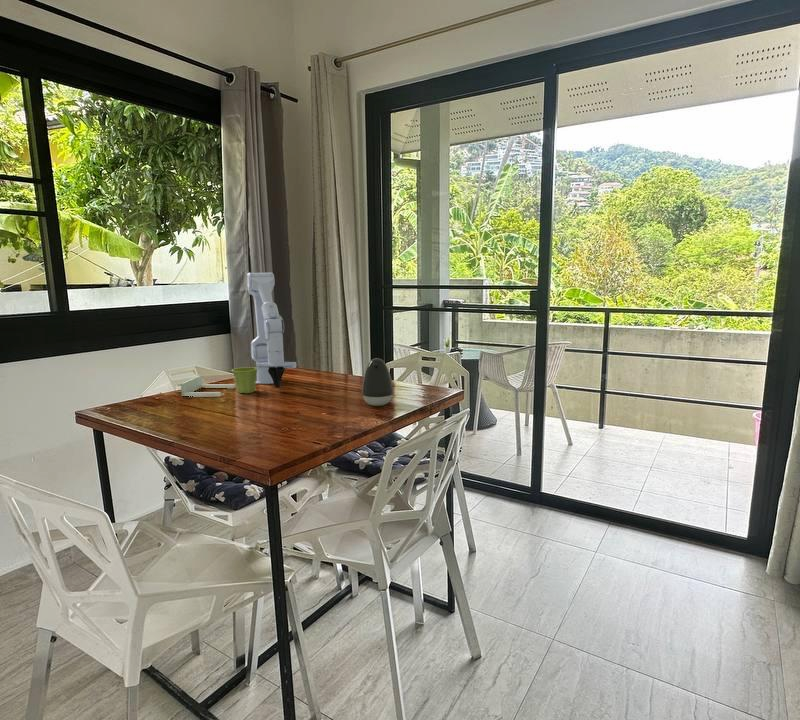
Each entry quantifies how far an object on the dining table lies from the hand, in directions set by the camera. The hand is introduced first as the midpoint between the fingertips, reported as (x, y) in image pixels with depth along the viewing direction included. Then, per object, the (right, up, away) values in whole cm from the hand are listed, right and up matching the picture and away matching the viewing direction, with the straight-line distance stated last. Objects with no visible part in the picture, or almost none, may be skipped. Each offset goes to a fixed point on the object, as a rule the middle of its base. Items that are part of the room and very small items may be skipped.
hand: (277, 387), depth 189 cm
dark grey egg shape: (+38, -5, -22) cm, 44 cm away
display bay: (-25, -2, +1) cm, 25 cm away
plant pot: (-12, -2, +1) cm, 12 cm away
